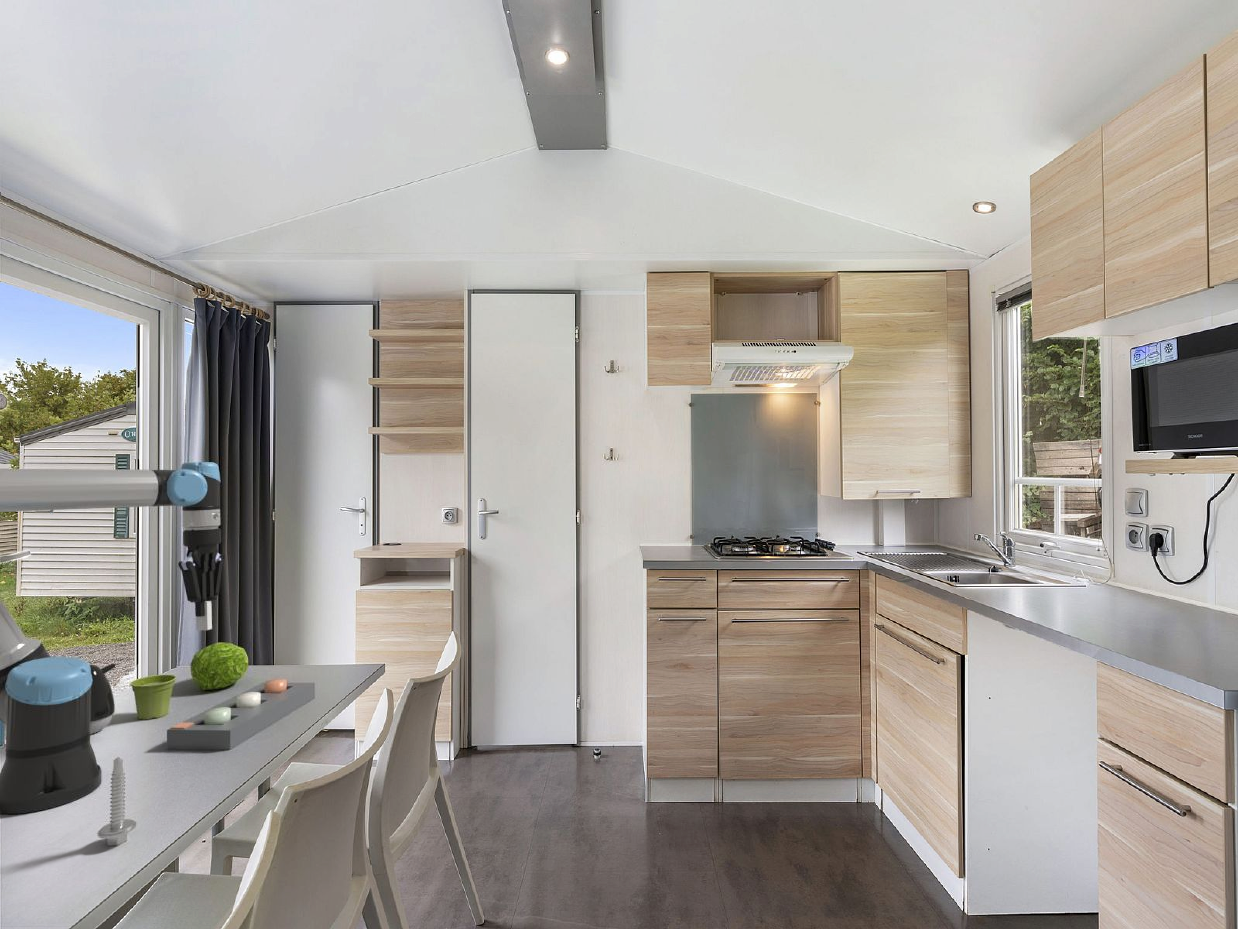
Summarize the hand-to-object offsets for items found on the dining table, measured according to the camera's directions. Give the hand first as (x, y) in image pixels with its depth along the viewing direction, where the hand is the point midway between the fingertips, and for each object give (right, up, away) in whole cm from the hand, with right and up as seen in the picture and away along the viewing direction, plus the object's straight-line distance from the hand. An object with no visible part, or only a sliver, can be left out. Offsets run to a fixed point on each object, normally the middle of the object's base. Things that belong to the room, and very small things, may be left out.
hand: (204, 629), depth 154 cm
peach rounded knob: (+10, -20, +13) cm, 26 cm away
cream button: (+9, -20, +2) cm, 22 cm away
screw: (+19, -21, -51) cm, 58 cm away
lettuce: (-16, -24, +34) cm, 45 cm away
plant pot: (-17, -23, +7) cm, 29 cm away
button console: (+9, -22, +2) cm, 24 cm away
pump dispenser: (-24, -23, -4) cm, 34 cm away
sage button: (+8, -20, -9) cm, 23 cm away
